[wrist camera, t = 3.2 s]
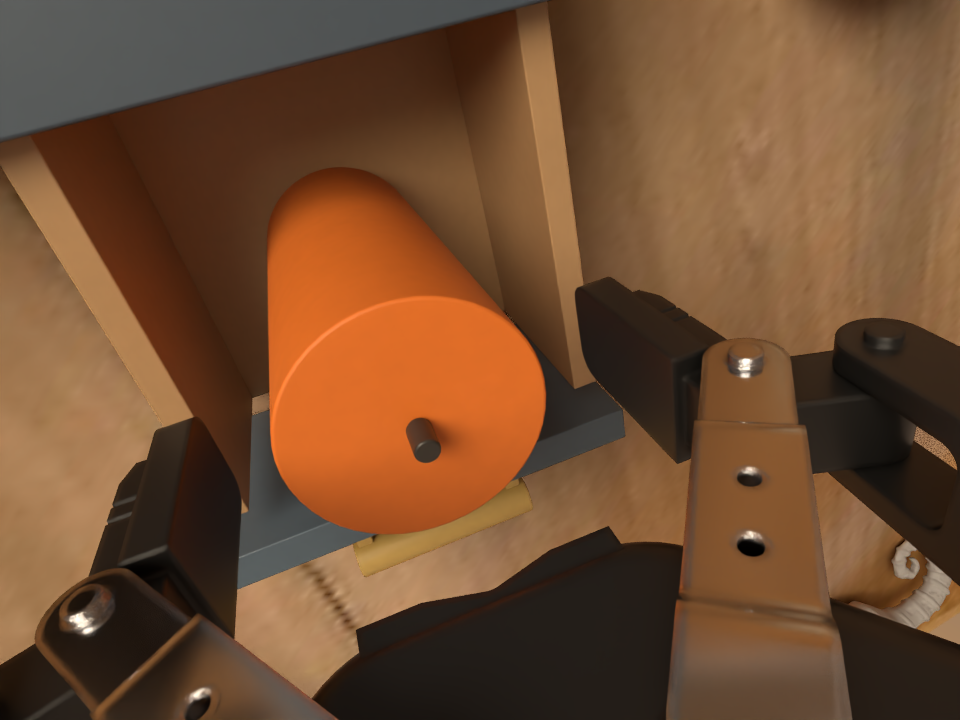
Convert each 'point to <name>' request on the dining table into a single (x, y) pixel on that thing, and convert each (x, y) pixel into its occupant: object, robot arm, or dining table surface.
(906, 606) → the seahorse
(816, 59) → the dining table surface
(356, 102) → the drawer
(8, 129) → the cabinet
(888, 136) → the dining table surface
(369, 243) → the candle
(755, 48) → the dining table surface
